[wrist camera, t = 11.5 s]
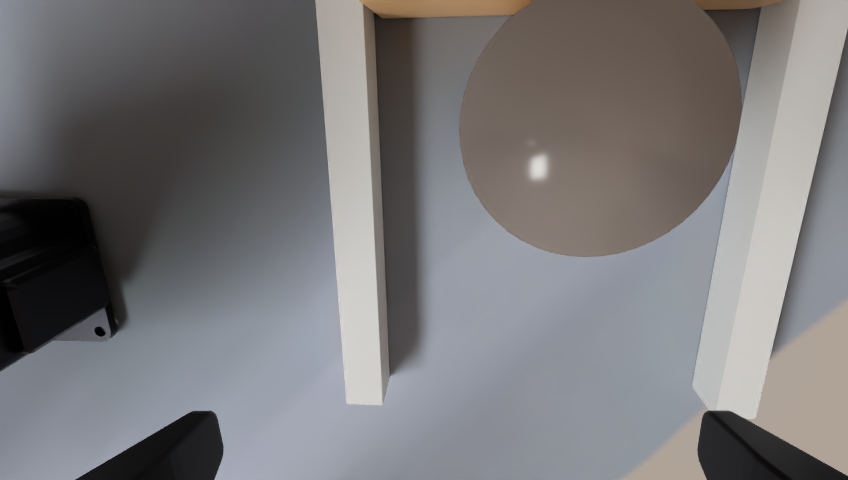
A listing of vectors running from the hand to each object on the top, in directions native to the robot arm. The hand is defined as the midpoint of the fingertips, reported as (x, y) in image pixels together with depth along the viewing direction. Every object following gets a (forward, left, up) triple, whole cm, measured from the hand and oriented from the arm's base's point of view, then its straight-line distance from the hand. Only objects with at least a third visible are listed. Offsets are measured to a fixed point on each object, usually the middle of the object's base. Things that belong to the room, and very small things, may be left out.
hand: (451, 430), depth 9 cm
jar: (+3, +5, -11) cm, 13 cm away
